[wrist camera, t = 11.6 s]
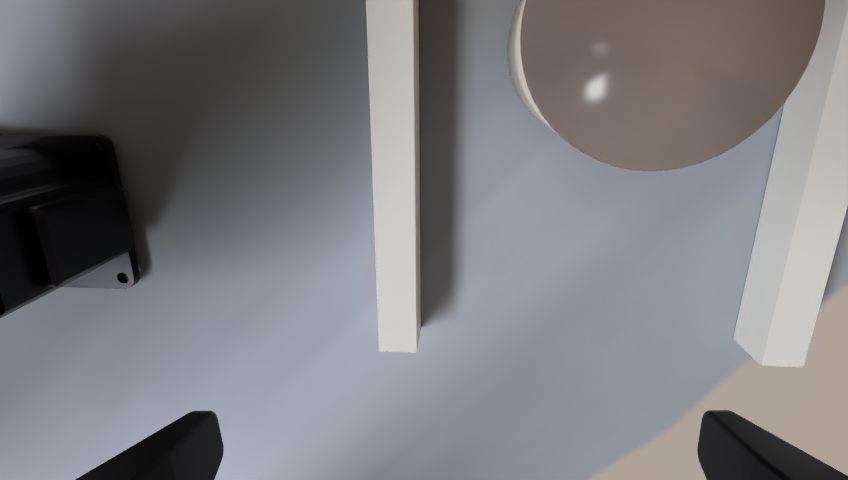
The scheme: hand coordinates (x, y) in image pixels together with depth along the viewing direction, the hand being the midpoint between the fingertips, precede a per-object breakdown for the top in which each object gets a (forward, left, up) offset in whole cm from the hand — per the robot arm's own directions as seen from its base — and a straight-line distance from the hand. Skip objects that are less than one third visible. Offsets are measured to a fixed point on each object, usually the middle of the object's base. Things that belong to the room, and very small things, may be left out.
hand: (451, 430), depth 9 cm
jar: (+5, +7, -11) cm, 14 cm away
